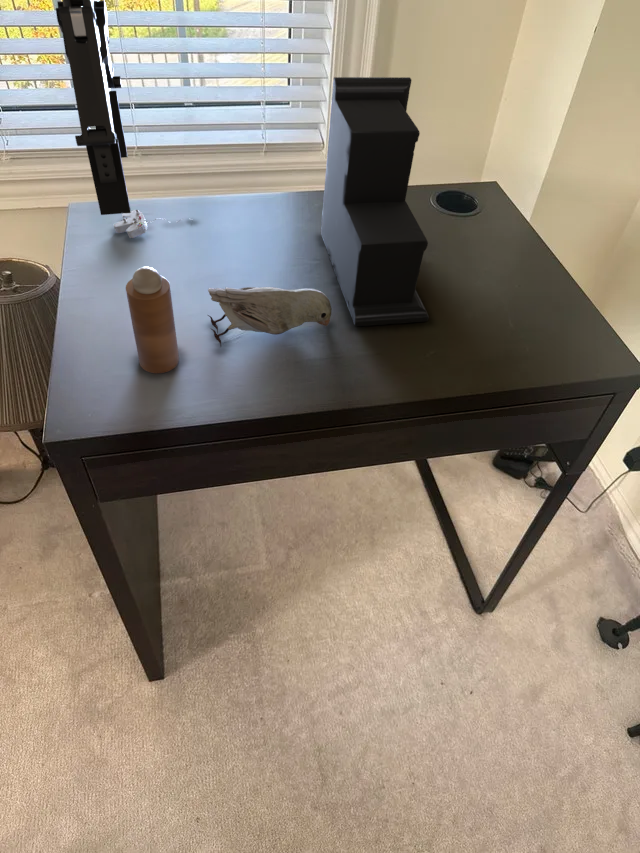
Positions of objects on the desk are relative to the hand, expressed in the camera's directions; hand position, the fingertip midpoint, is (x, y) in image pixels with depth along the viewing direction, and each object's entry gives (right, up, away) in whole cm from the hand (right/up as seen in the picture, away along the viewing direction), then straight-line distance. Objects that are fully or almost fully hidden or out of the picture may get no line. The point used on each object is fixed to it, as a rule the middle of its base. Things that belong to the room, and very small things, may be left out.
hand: (115, 182), depth 65 cm
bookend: (+28, -3, +30) cm, 41 cm away
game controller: (-5, +6, +35) cm, 35 cm away
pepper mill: (+1, -17, +14) cm, 22 cm away
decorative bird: (+14, -13, +19) cm, 27 cm away
